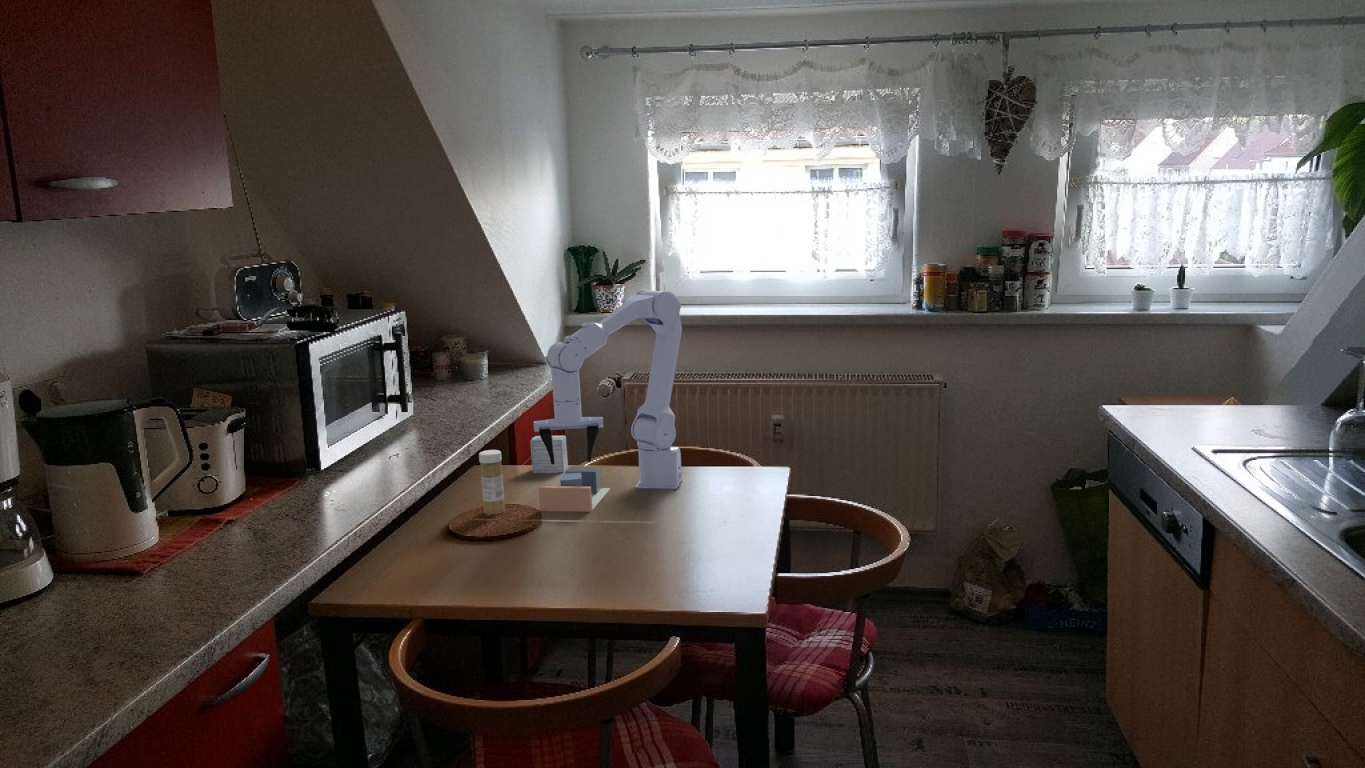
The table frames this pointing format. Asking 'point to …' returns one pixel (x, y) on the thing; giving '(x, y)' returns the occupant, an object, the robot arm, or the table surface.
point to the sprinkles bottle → (492, 481)
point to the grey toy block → (588, 477)
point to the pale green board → (569, 498)
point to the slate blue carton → (571, 479)
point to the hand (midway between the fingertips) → (571, 462)
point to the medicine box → (542, 458)
